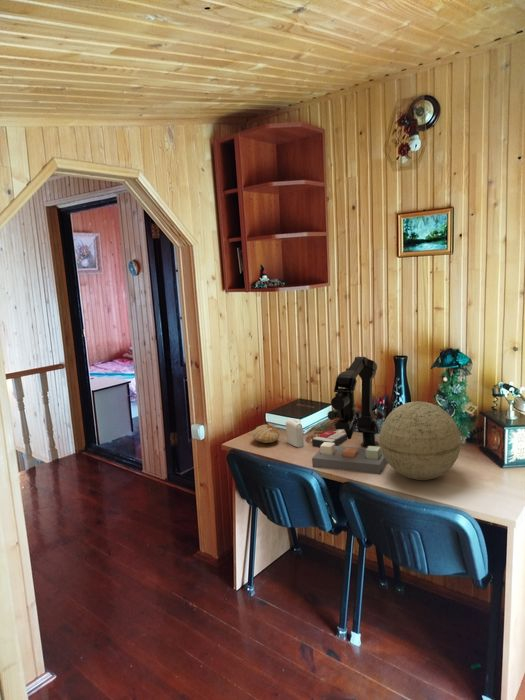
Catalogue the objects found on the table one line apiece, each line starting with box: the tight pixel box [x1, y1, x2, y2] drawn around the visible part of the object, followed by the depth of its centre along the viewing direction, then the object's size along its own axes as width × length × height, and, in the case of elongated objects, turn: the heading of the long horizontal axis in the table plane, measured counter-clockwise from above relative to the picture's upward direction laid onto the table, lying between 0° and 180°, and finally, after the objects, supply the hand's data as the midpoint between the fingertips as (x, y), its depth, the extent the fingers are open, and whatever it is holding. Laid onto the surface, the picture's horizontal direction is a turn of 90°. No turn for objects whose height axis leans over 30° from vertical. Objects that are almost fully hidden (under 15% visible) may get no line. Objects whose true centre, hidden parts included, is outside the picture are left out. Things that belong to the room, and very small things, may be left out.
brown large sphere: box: [379, 401, 462, 481], centre depth 200 cm, size 30×30×30 cm
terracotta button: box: [343, 448, 358, 457], centre depth 221 cm, size 5×5×5 cm
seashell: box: [251, 422, 280, 444], centre depth 258 cm, size 8×22×15 cm
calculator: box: [311, 430, 348, 449], centre depth 247 cm, size 11×4×15 cm
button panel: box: [311, 445, 388, 475], centre depth 221 cm, size 16×29×4 cm, turn 64°
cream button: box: [319, 442, 335, 455], centre depth 225 cm, size 5×5×5 cm
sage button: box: [366, 445, 381, 460], centre depth 216 cm, size 5×5×5 cm
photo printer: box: [285, 418, 305, 448], centre depth 248 cm, size 10×4×12 cm, turn 29°
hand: (349, 438), depth 219 cm, fingers closed
